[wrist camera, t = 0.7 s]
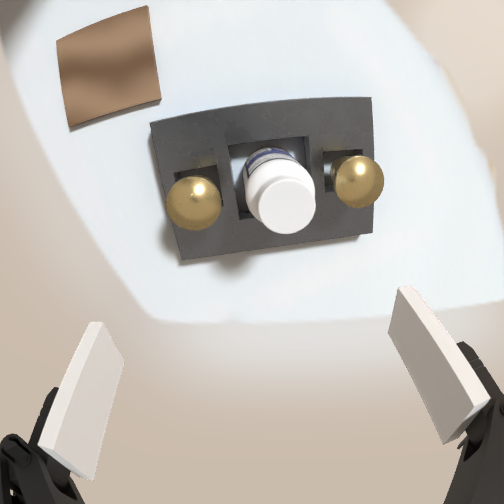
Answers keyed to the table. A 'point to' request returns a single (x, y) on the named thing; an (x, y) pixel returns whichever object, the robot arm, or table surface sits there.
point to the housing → (258, 129)
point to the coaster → (108, 66)
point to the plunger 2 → (357, 180)
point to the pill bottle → (278, 190)
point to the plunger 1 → (194, 202)
